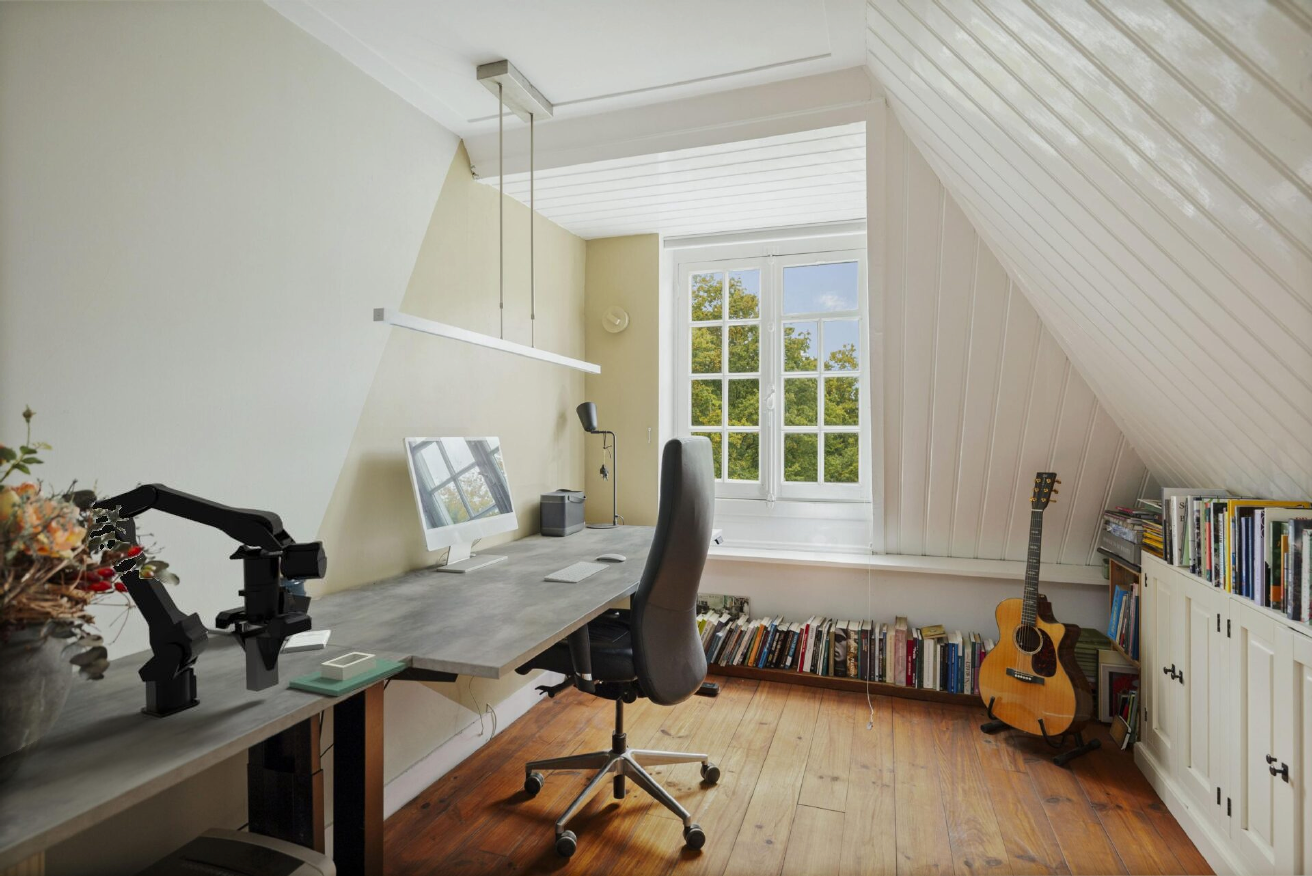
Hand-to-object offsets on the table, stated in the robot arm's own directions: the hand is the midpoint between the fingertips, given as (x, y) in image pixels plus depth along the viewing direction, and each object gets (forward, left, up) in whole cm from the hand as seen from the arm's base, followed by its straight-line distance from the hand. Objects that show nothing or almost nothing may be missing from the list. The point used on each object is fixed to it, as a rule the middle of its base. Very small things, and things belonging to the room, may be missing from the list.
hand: (264, 668), depth 122 cm
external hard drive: (+27, +24, -6) cm, 37 cm away
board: (+14, -5, -6) cm, 16 cm away
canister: (+32, +41, -6) cm, 52 cm away
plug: (0, 0, -3) cm, 3 cm away
